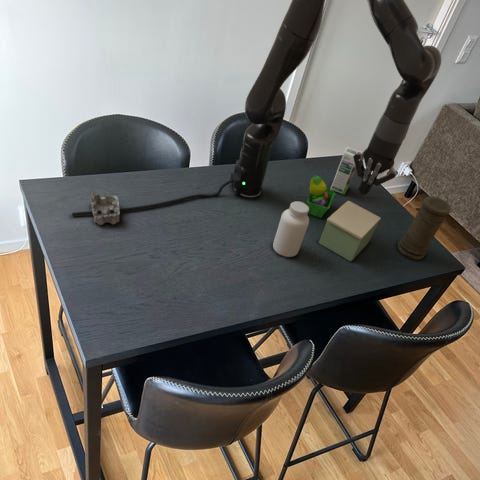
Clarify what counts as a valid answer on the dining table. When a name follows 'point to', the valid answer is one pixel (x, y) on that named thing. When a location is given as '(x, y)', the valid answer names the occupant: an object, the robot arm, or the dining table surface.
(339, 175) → the syrup box
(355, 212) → the lid
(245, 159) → the robot arm
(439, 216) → the container
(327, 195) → the fruit basket
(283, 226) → the pill bottle
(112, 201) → the egg carton
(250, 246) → the dining table surface
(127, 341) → the dining table surface
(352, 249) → the caddy
